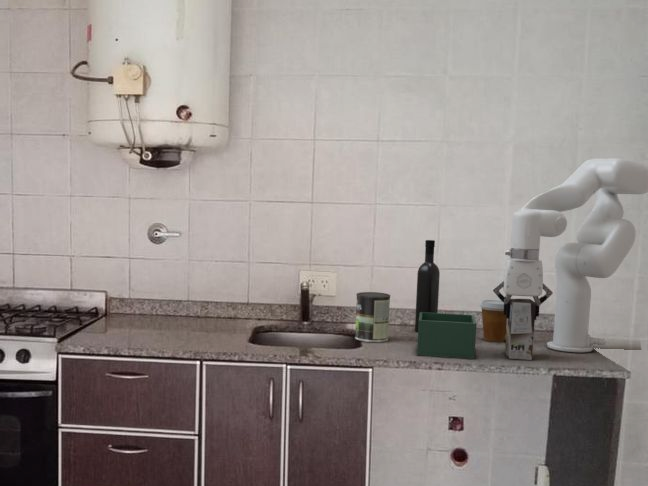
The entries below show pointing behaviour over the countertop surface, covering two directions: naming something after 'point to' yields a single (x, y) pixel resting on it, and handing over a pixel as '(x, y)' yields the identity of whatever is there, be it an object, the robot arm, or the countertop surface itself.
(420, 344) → the green storage bin
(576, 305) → the robot arm
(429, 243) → the wine bottle
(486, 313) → the disposable coffee cup
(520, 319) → the coffee box
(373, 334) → the coffee can
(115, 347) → the countertop surface
